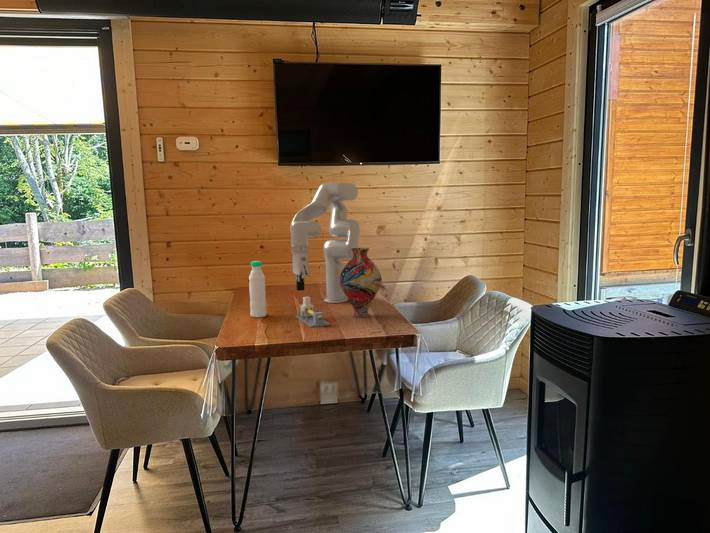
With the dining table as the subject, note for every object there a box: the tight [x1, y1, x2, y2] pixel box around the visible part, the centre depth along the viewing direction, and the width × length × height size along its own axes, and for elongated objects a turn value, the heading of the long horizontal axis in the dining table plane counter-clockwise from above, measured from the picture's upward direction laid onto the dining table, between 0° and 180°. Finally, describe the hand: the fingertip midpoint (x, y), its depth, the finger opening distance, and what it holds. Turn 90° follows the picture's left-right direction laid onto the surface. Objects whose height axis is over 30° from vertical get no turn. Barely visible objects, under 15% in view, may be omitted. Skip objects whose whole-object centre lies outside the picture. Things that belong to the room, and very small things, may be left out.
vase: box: [339, 247, 383, 318], centre depth 213 cm, size 19×19×30 cm
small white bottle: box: [300, 296, 315, 317], centre depth 211 cm, size 4×5×8 cm
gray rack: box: [295, 306, 330, 328], centre depth 206 cm, size 20×8×5 cm, turn 25°
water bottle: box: [248, 260, 267, 318], centre depth 216 cm, size 7×7×25 cm
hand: (300, 290), depth 216 cm, fingers closed
